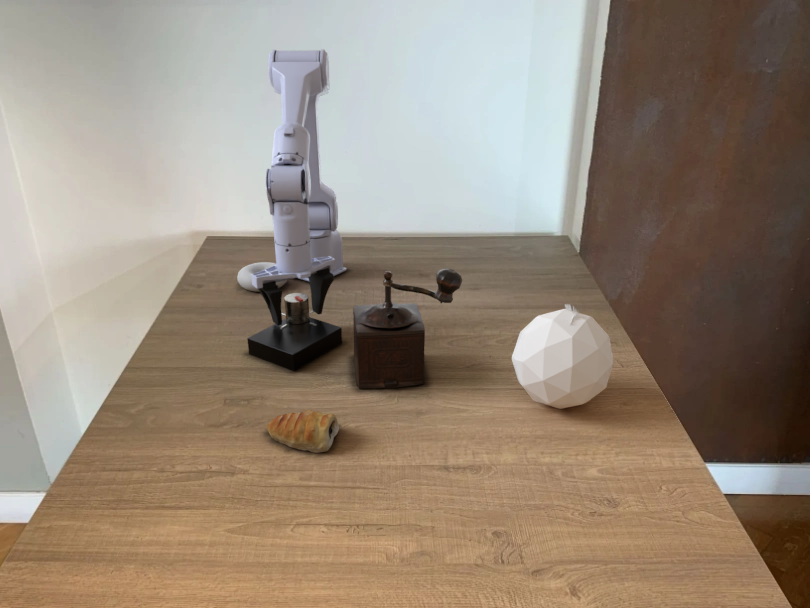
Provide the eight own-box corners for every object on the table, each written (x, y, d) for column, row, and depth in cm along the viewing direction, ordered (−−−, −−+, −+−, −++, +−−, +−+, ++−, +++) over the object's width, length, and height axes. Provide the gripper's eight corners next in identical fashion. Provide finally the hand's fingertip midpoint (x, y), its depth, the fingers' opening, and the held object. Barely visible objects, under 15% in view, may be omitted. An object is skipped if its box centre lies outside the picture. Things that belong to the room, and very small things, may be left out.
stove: (297, 321, 133) (295, 305, 131) (350, 338, 126) (349, 321, 125) (239, 350, 123) (237, 333, 121) (294, 371, 116) (293, 353, 115)
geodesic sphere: (504, 329, 115) (515, 282, 102) (597, 330, 115) (621, 283, 101) (507, 420, 109) (519, 383, 96) (605, 422, 109) (632, 385, 95)
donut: (282, 296, 143) (293, 275, 152) (281, 279, 141) (292, 259, 150) (232, 294, 144) (245, 274, 153) (230, 277, 142) (243, 258, 151)
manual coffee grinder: (356, 392, 111) (353, 279, 102) (352, 357, 120) (349, 251, 112) (459, 386, 112) (465, 274, 103) (447, 352, 122) (451, 247, 113)
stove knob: (281, 318, 127) (279, 294, 125) (302, 312, 129) (301, 289, 126) (292, 326, 124) (291, 302, 122) (313, 320, 126) (312, 297, 124)
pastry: (260, 447, 98) (258, 423, 96) (277, 420, 104) (275, 397, 102) (329, 456, 96) (327, 431, 95) (342, 428, 102) (341, 404, 100)
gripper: (262, 256, 113) (269, 337, 120) (343, 238, 120) (346, 315, 127) (242, 244, 118) (250, 321, 125) (322, 227, 125) (325, 301, 132)
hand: (297, 317), depth 126 cm, fingers open, 7 cm apart
